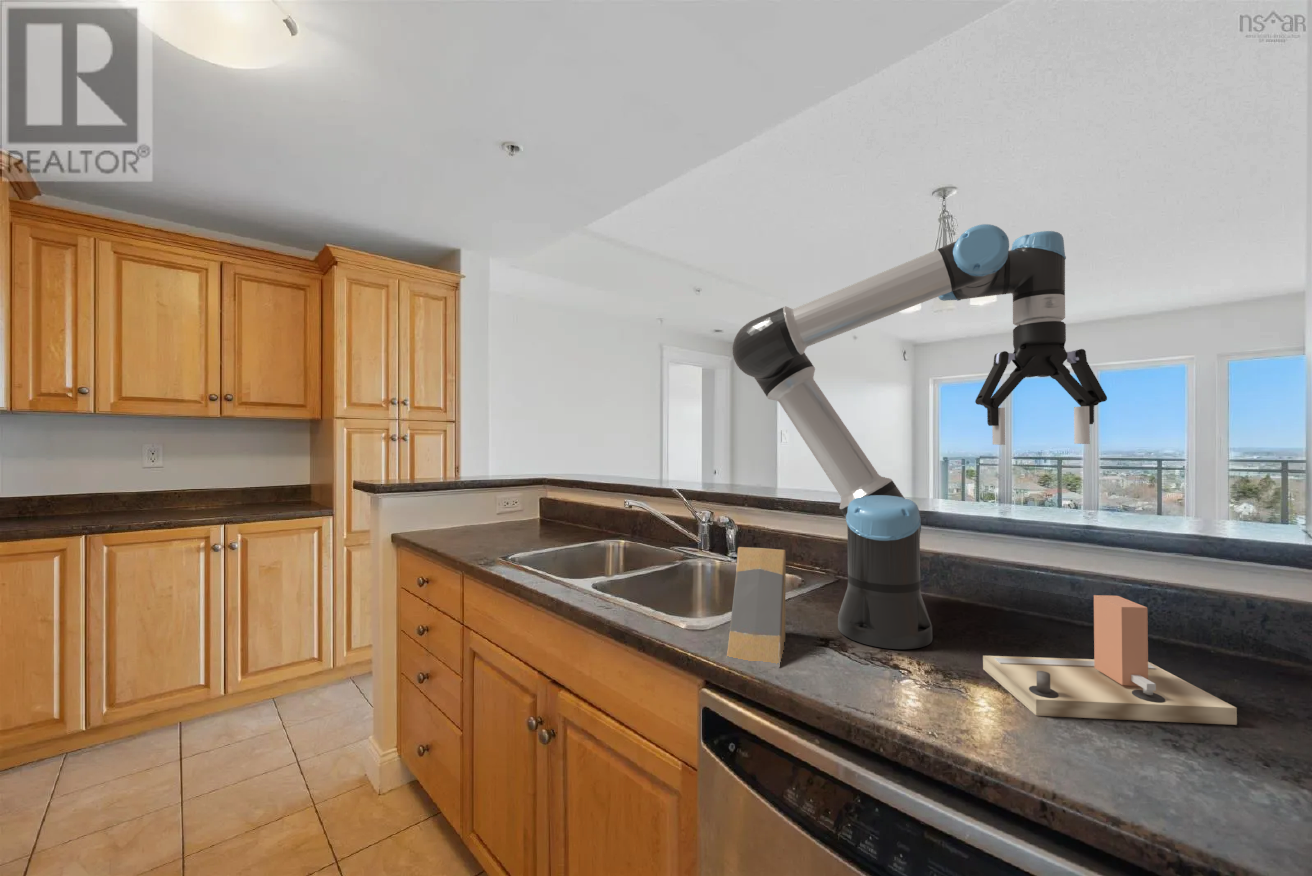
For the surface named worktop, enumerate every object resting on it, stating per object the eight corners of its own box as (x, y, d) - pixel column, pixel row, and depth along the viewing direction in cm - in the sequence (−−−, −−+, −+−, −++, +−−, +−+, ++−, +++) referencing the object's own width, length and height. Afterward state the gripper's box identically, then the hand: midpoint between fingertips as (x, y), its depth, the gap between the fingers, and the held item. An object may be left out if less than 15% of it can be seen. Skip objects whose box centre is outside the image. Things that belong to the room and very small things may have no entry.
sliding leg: (1137, 694, 65) (1137, 613, 65) (1094, 668, 72) (1093, 595, 72) (1164, 695, 64) (1164, 614, 64) (1118, 668, 72) (1117, 595, 72)
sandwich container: (723, 664, 81) (722, 566, 81) (738, 628, 95) (737, 546, 95) (781, 670, 78) (780, 570, 78) (786, 633, 93) (785, 548, 93)
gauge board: (1036, 715, 65) (1035, 679, 65) (983, 669, 78) (982, 639, 78) (1236, 724, 62) (1236, 687, 62) (1147, 675, 75) (1147, 644, 75)
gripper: (973, 321, 90) (975, 445, 90) (1133, 316, 88) (1134, 443, 88) (954, 330, 98) (955, 444, 98) (1100, 325, 95) (1101, 443, 95)
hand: (1040, 444), depth 93 cm, fingers open, 13 cm apart
